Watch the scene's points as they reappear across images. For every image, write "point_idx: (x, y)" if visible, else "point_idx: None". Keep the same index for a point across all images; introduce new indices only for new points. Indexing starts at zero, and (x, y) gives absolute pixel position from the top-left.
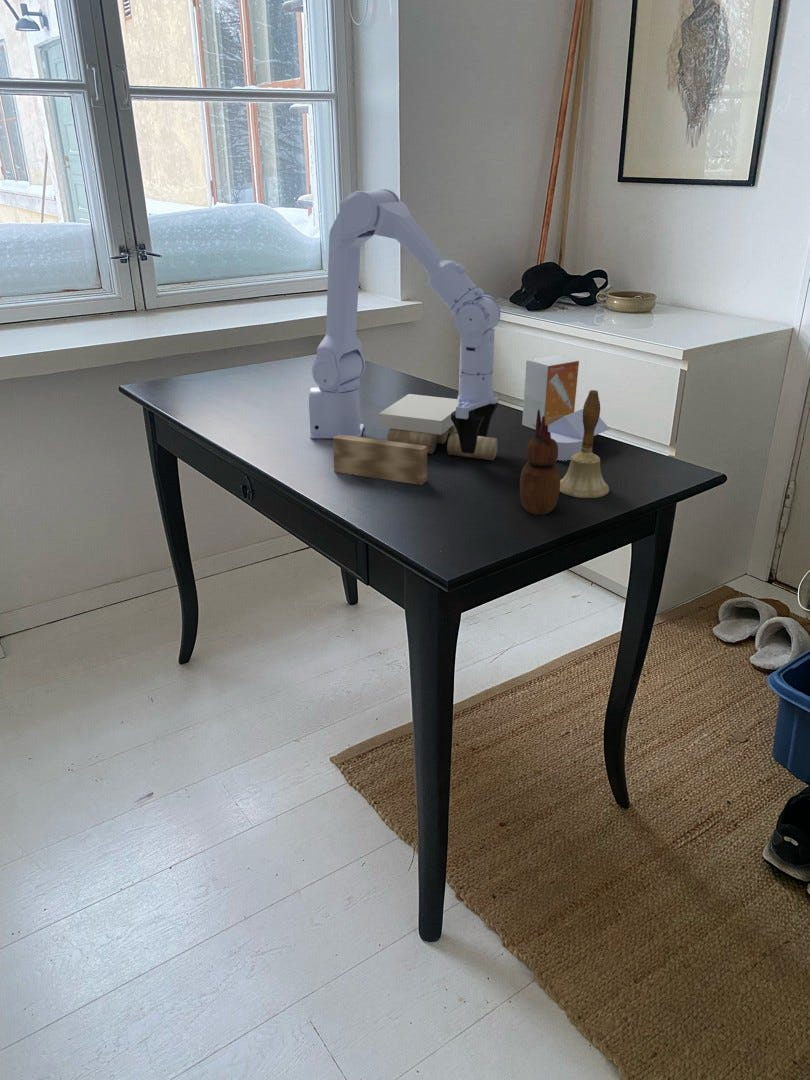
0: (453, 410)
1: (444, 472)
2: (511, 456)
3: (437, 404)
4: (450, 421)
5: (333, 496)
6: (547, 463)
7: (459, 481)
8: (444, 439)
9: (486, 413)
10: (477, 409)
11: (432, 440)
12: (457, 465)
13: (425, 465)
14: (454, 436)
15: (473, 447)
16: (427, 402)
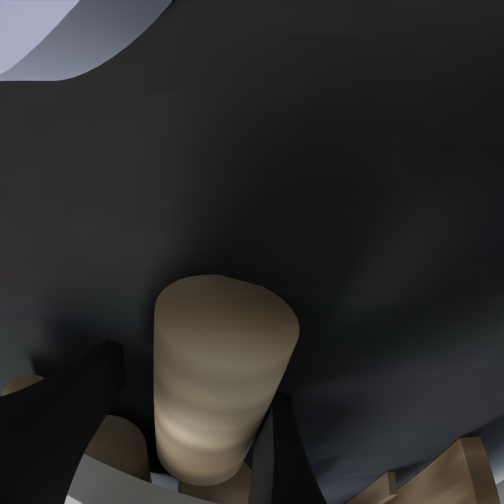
0: (73, 499)
1: (408, 423)
2: (175, 186)
3: None
4: (128, 496)
5: None
6: None
7: (491, 375)
8: (118, 426)
9: (32, 456)
10: (45, 491)
11: (218, 488)
12: (342, 405)
13: (478, 474)
14: (214, 478)
15: (295, 420)
16: None
